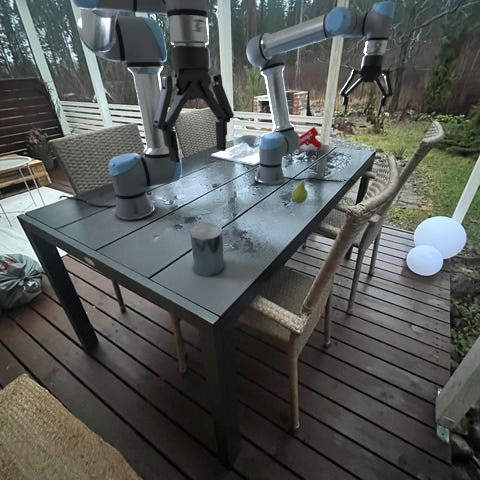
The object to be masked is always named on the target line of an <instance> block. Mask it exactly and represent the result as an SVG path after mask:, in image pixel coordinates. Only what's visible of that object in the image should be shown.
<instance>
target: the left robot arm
mask: <svg viewBox="0 0 480 480" xmlns="http://www.w3.org/2000/svg"><path fill="white" fill-rule="evenodd" d="M207 1H208V0H72V2H73V4H74V5H75V7H77V8H79V9H80V15H79V16H78V19H77V32H78V36H79V39H80V40H81V41H82V44H83V45H84V46H85V47H86V48H87V49H88V50H89V51H90V52H92V53H93V54H94V55H96V56H98V57H99V58H102V59H105V60H107V61H111V62H120V63H121V62H125V63H126V64H125V65H126V69H127V70H128V71H129V72H131V73H132V75H133V79H134V85H135V90H136V96H137V100H138V106H139V112H140V116H141V122H142V128H143V133H144V138H145V143H146V147H145V148H144V150H143V154H144V155H143V156H140V155H139V154H138V153H135V152H131V153H130V152H128V153H123V154H120V155H117V156H114V157H112V159H110V160H109V161H108V163H107V167H108V172H109V173H108V175H109V176H110V178H111V182H112V187H113V190H114V193H115V197H116V202H115V204H110V205H109V204H95V203H91V202H90V201H89V200H87V199H85V198H81V197H72V196H68V195H64V194H63V195H60V196H59V197H58V199H62V198H66V199H70V200H77V201H82V202H86V203H87V204H88V205H90V206H92V207H98V208H115V215H116V218H117V219H119V220H120V221H125V222H127V221H128V222H132V221H133V222H134V221H140V220H144V219H146V218H148V217H151V216H152V215H153V214H154V213H155V210H156V209H155V205H154V202H153V201H151V198H150V196H149V194H148V191H147V188H148V187H154V186H155V187H156V186H159V185H166V184H169V185H170V184H171V183H175V182H178V181H179V180H180V179H181V175H182V161H181V156H180V154H179V147H178V146H179V145H178V140H177V139H178V138H177V132H176V130H173V128H174V127H175V124H176V122H177V120H178V118H179V116H180V114H181V112H182V111H183V108H184V106H185V105H186V104H187V103H188V101H195V100H203V101H204V103H205V104H206V106H207V107H208V108H209V109H210V111H211V112H212V113H213V115H214V116H215V118H216V119H217V120H218V121H215V139H216V141H215V142H216V150H217V151H226V149H227V142H226V141H227V139H226V138H227V136H228V123H230V122H231V119H234V116H235V115H234V111H233V109H232V106H231V104H230V101H229V99H228V96H227V93H226V91H225V88H224V85H223V76H222V74H220V73H211V75H210V68H211V53H210V52H211V51H210V49H209V47H207V45H209V42H210V39H209V36H210V35H209V19H208V2H207ZM120 12H125V13H138V14H139V13H141V14H154V15H158V16H160V17H163V18H167V25H168V26H167V27H168V36H169V43H170V44H171V45H172V46H173V47H171V49H170V53H171V61H172V68H173V70H174V76H171V75H161V76H160V73H161V71H163V68H164V66H163V65H164V64H163V63H165V62H166V61H167V59H168V58H167V57H168V55H167V45H166V40H165V36H164V33H163V30H162V28H161V26H160V24H159V23H158V21H157V20H156V19H154V18H151V17H146V16H134V15H133V16H131V15H119V14H120ZM210 86H211V89H212V90H211V89H210ZM175 87H176V89H177V90H176V92H175V94H174V96H173V90H174V88H175ZM212 91H213V92H212ZM172 96H173V101H172V103H171V99H172ZM214 96H215V97H214ZM170 104H171V105H170Z"/></svg>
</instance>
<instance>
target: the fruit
mask: <svg viewBox="0 0 480 480" xmlns="http://www.w3.org/2000/svg"><path fill="white" fill-rule="evenodd" d="M305 178H306V179H305V180H300V182H298V184H297V185H296V186H295V187H294V188H293V190H292V191H291V198H292V200H293V201H294V202H295V203H297V204H301V203H304V202H305V201H306V200H307V198H308V196H309V195H308V190H307V189H306V184H305V183H306V180H308V179H307V178H311V175H310V174H309V175H308V176H307V177H305Z"/></svg>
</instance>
